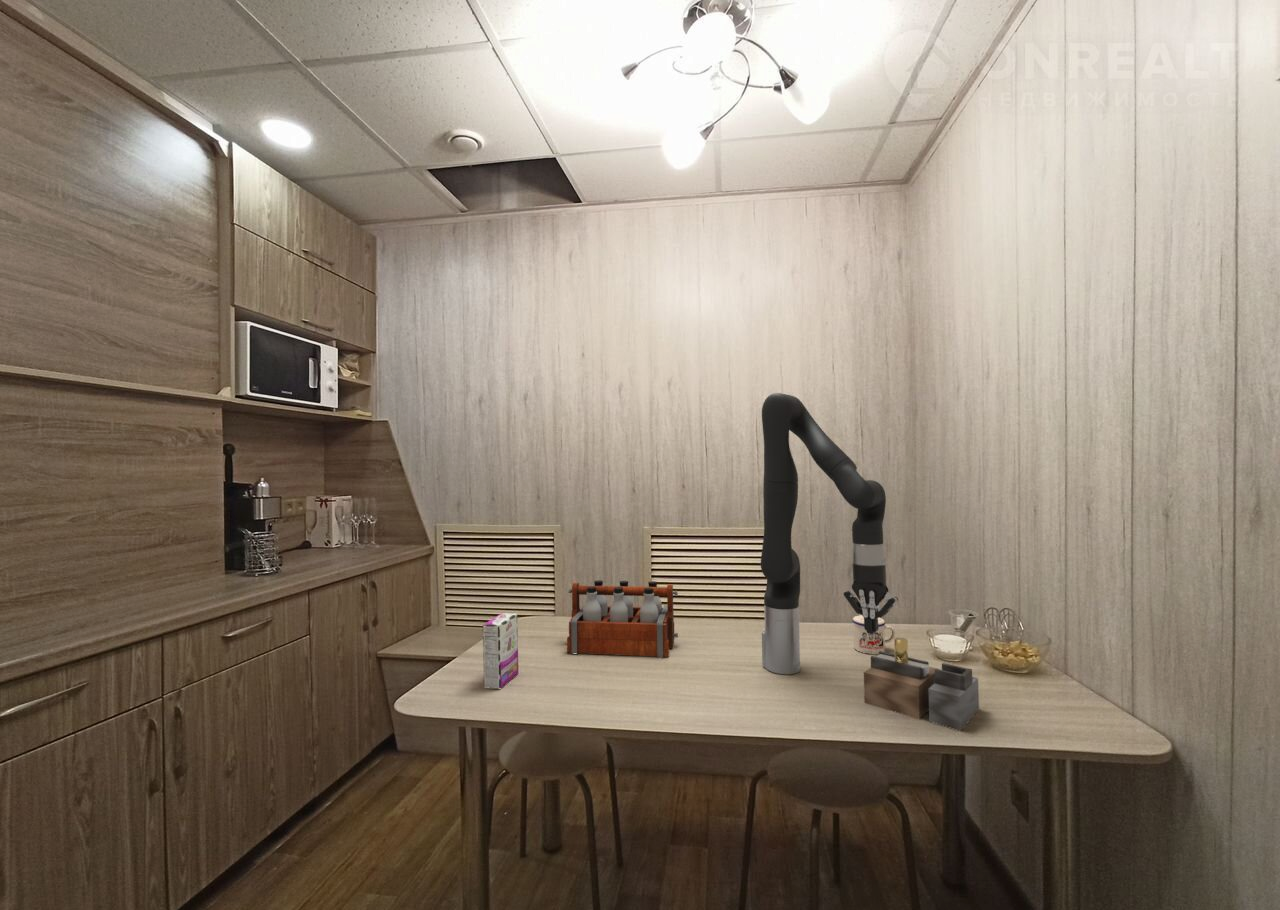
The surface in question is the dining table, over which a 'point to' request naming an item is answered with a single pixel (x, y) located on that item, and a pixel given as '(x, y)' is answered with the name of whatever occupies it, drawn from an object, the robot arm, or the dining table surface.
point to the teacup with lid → (870, 636)
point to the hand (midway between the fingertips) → (871, 632)
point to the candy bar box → (500, 650)
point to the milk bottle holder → (621, 620)
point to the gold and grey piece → (904, 655)
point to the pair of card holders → (923, 690)
